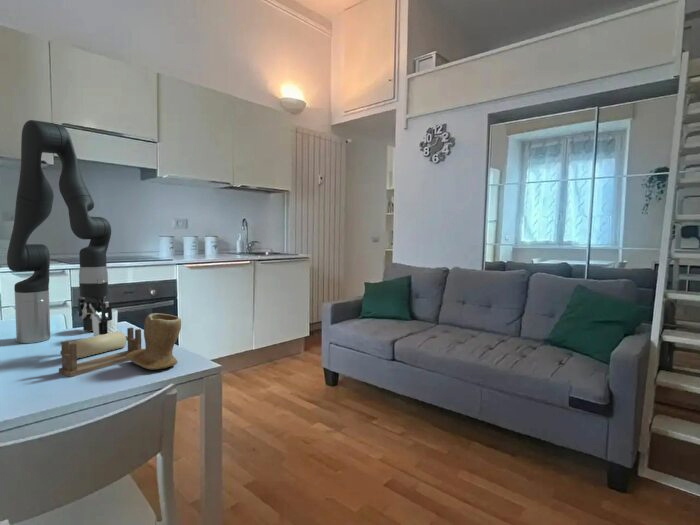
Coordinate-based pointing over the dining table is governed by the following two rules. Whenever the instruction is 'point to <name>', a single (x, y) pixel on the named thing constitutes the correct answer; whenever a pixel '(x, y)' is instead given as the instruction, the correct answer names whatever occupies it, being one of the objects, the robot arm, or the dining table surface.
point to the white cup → (110, 324)
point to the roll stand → (75, 369)
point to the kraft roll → (99, 344)
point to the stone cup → (157, 342)
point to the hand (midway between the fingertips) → (95, 332)
